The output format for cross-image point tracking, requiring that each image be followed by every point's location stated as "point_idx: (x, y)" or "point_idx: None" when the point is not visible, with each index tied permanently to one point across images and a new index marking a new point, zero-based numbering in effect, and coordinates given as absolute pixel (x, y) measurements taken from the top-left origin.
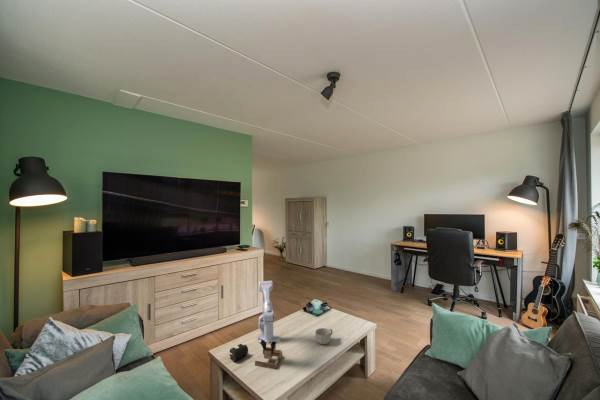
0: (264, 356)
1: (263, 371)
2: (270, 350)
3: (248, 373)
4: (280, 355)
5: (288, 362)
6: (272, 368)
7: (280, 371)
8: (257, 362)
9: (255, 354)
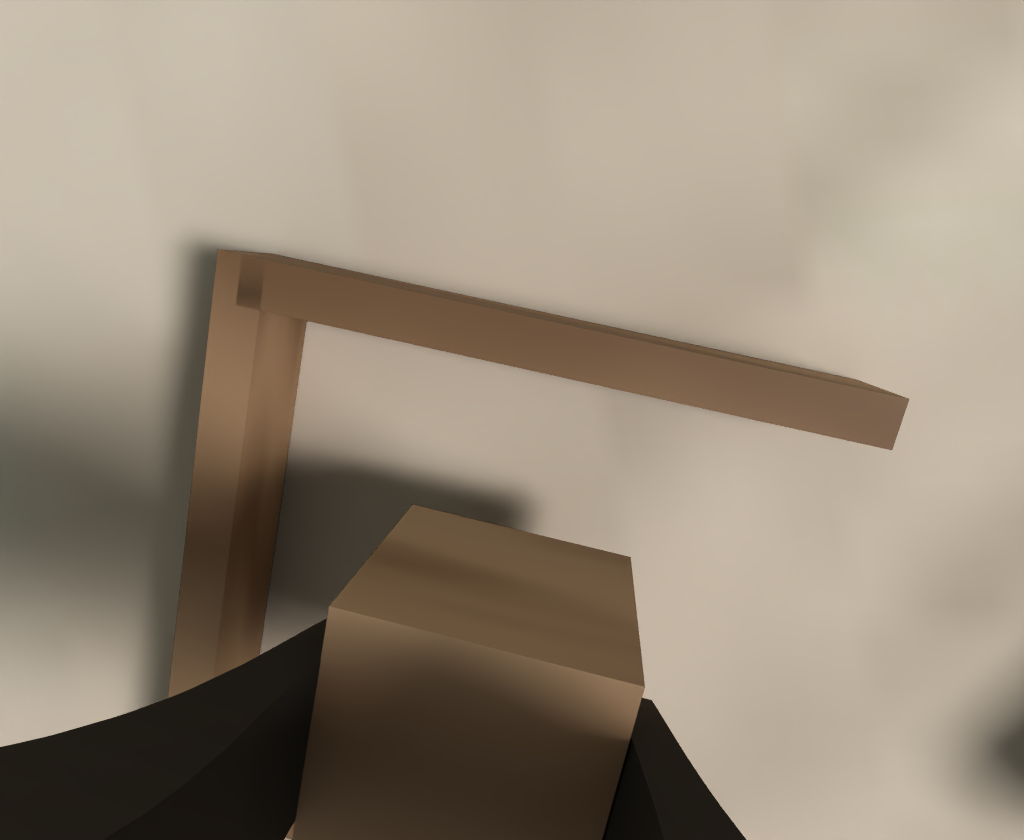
0: (615, 575)
1: (571, 143)
2: (368, 724)
3: (1006, 13)
4: (177, 687)
5: (28, 526)
6: (350, 271)
7: (133, 180)
8: (810, 374)
9: (908, 823)
